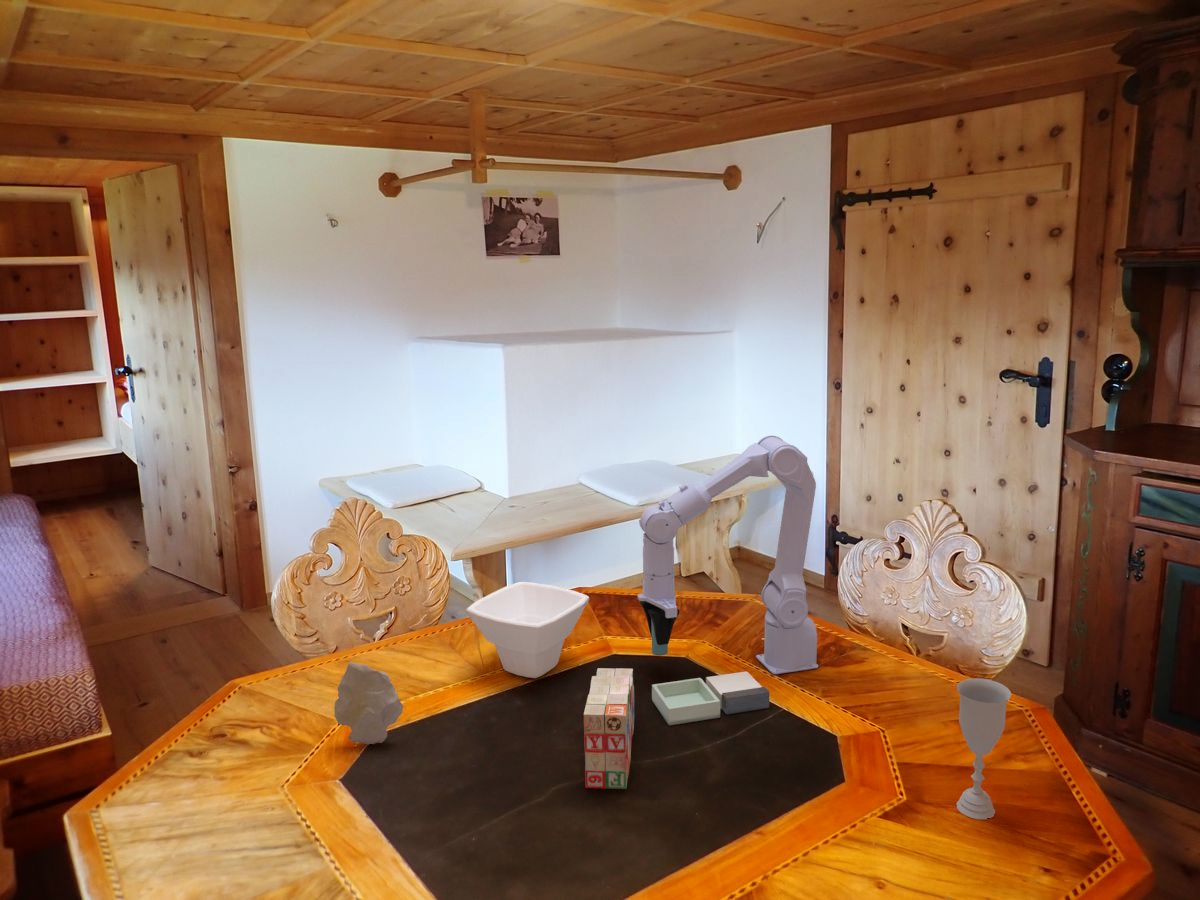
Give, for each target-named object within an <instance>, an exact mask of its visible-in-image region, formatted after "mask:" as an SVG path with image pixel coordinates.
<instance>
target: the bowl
mask: <svg viewBox="0 0 1200 900" xmlns="http://www.w3.org/2000/svg"><path fill="white" fill-rule="evenodd" d="M589 601H590V597H589V596H588V595H587V594H584V593H581V592H579V591H576V590H572V589H569V588H568V589H567V588H564V587H561V586H556V585H550V584H545V583H538V582H530V581H529V582H527V581H519V582H516V583H511V584H509V585H506V586H504V587H501V588H500V589H497V590H496V591H493V592H491V593H490V594H487V595H486V596H484V597H482V598H480V599H477V600H475V601H474V602H473V603H471V605H469V606H468V607H467V608H466V610H465V611H466V614H467V615H468V617H470V619H471V621H472V622H473V623H474V624H475V626H476V627H477V629H478V630H479V632H480V633H481V634H482V635H483V637H484V638H485V640H486V641H487V642H489V643H490V644H492V645H494V647H495V650H496V653H497V655H498V658H499V659H500V662H501V665H502V667H503V669H504V671H507V672H508V673H511V674H514V675H516V676H519V677H524V678H531V679H537V678H539V677H541V676H544V675H545V674H546V673H548V672H550V671H551V670H552V669H554V668H555V667H556V666H557V665H558V663H559V662H560V657H561V653H562V650H563V647H564V642H565V639H566V638H568V637H569V635H571V633H572V632H573V631H574V628H575V626H576V625H577V622H578V621H579V619H580V617H581V616H582V614H583V611H584V610H585V608H586V606H587V604H588V602H589Z"/></svg>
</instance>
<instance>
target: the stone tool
mask: <svg viewBox="0 0 1200 900" xmlns="http://www.w3.org/2000/svg"><path fill="white" fill-rule="evenodd" d="M336 689H337V697H338V698H337V699H336V700H335V702H334V706H333V707H334V708H333V709H334V716H333V717H335V720H336V722H337V724H339V725H340V726H347V727H349V728H350V729H351V732H350V733H349V735H348V739H349V741H351V743H358V744H365V745H368V746H369V744H373V745H375V744H377V743H378V744H382V743H384V742H385V741H386V739H387V737H388V732H387V729H388V728H389V726H391V725H394V724H395V723H396V722H398V719H399V718H400V717H401V715H402V714H403V712H404V711H403V710H404V704H402V702H401V699H400V697H399V694H398V692H397V691H396V688H395V686H394V684H393V683H392V680H391V678H390V676H389V675H388V674H387V672H385V671H380V670H375V669H373V668H371V667H369V666H368V665H367V664H365V663H364V664H358V663H355V662H353V661H349V663H348V664H347V666H346V670H345V672H344V673H343V675H342V677H341V679H340V682H339V684H338V686H337V688H336Z"/></svg>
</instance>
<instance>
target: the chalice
mask: <svg viewBox="0 0 1200 900" xmlns="http://www.w3.org/2000/svg"><path fill="white" fill-rule="evenodd" d="M956 689H957V692H958V694H959V696H960V698H959V699H960V700H959V712H958V713H959V714H958V722H959V725H960V729H961V732H962V733H961V734H962V736H963V737H964V740H965V741H966V744H967V746H968V748H969V750H970V752H972V753H974V754H975V757H974V758H975V759H974V762H972V766H973V768H974V773H973V774H971V775H970V777H971V779H972V780H973V787H969V788H967V789H965V790H964V791H963V792H962V794H961V795H960V797H959V799H958V801H957V802H956V805H957V806H956V808H957V811H959V812H960V813H961V814H962V815H964V816H966V817H969V818H972V819H975V820H988V819H987V818H990V819H992V818H993V817H994V816H995V815H996V810H995V808H994V805H993V802H992V798H991V797H990V795H989V794H988V793H987V792H986V791H984V789H982V787H981V784H982V782H983V781H984V780H985V778H986V777H984V775H983V773H982V772H983V769H984V768H985V767H986V765H985V764H984V760H983V758H984V756H986V755H989V754H991V752H992V750H993V749H994V748H995V746H996V745H997V743H998V741H999V740H1000V739H1001V736H1002V735H1003V732H1004V730H1005V728H1006V727H1005V726H1006V713H1007V702H1008V701H1009V700H1010V698H1011V696H1012V692H1011V690H1010V689H1009V688H1008V687H1007V686H1006V685H1004V684H1002V683H1000V682H997V681H994V680H991V679H986V678H978V677H977V678H974V677H973V678H967V679H964V680H961V681H960V682H958V683H957V686H956ZM994 814H995V815H994Z"/></svg>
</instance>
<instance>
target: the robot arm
mask: <svg viewBox="0 0 1200 900" xmlns="http://www.w3.org/2000/svg"><path fill="white" fill-rule="evenodd" d="M769 472H770V473H771V474H773V475H774V476H775V477H776V479H777V480H778V481H779V482H780V483H781V484H782V485H783V487H784V488H785V493H784V494H785V495H784V501H783V507H782V515H781V521H780V527H779V536H778V541H777V550H776V556H775V563H774V568H773V569H772V570H771V571H770V572H769V574H768V578H767V582H766V583H765V585H764V587H763V588H762V591H761V595H760V596H761V601H762V604H763V605H764V606H765V607H766V612H765V615H764V651H763V652H764V653H762V654H756V656H755V658H756V659H757V660H758V661H759V662H760V663H761V664H762V665H763V666H764V667H765V668H766V669H767V670H768V671H769V672H770V673H771V674H773V675H780V674H786V673H793V672H799V671H808V670H813V669H818V668H819V665H818V664H817V660H818V659H817V657H818V656H817V655H818V653H817V652H818V651H817V650H818V631H817V627H816V625H815V622H814V620H813V619H812V618H811V617H809V616H808V614H809V605H808V603H807V602H808V601H807V598H806V597H807V588H806V583H805V580H804V576H803V574H804V567H805V561H806V560H805V559H806V554H807V547H808V540H809V534H810V533H809V532H810V528H811V521H812V515H813V508H814V503H815V502H814V500H815V495H816V488H817V482H816V479H815V477H814V475H813V472H812V470H811V468H810V465H809V463H808V457H807V456H806V455H805V454H804V453H803V452H802V451H801V450H800V449H799V448H798V447H796V446H795V445H793V444H791V443H790V444H789V443H788V442H786V441H785V440H783V439H782V438H780V437H779V436H776V435H766V436H764V437H761V439H760V440H759V441H758V442H754V443H752V444H750V445H748V447H746V449H745V450H743V452H741V453H739V455H737V456H736V457H735V458H734V459H731V461H729V462H728V463H726V465H724V466H722V468H720V469H719V470H718V471H716V472H715V473H713V474H712V475H710V477H708V478H707V479H706V480H704V481H703V482H700V483H697V482H690V483H688V484H686V483H682V484H681V485H680V486H679V490H677V492H675V493H673V494H672V495H671V496H669V497H668V498H666V499H665V500H663V499H661V500H659V501H658V502H657V504H658V505H651V506H649V507H647V508H646V509H644V511H643V512H642V514H641V515H640V519H639V520H638V523H639V527H640V528H641V530H642V531H643V532H644V533H643V536H642V537H643V539H642V542H643V545H642V567H643V568H642V571H643V572H642V573H643V581H641V582H642V589H641V590H642V593H638V594H637V599H638V600H639V604H640V605H641V608H642V610H643V612H644V614H645V617H646V622H647V626H648V629H649V630H648V631H649V633H650V636H651V638H652V624H651V619H652V622H653V626H654V631H655V638H656V642H657V644H658V645H664V644H668V645H669V643H670V638H671V635H672V631H673V627H674V625H675V622H676V620H677V618H678V617H679V615H680V609H679V608H678V606H677V605H676V598H677V597H676V596H677V595H676V594H677V593H676V592H675V547H674V539H675V537H676V535H678V534H677V533H678V530H679V529H680V528H682V527H683V526H685V525H687V524H689V523H690V522H691V521H693V520H694V519H695V518H697V517H698V516H700V515H702V514H703V513H705V512H706V511H707V510H709V509H710V506H711V503H712V500H713V498H715V497H717V496H718V495H720V494H722V493H724V492H725V491H726V490H728V489H730V488H731V487H734V486H735V485H737V484H739V483H740V482H742V481H743V480H745V479H747V478H748V477H758V478H769Z"/></svg>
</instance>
